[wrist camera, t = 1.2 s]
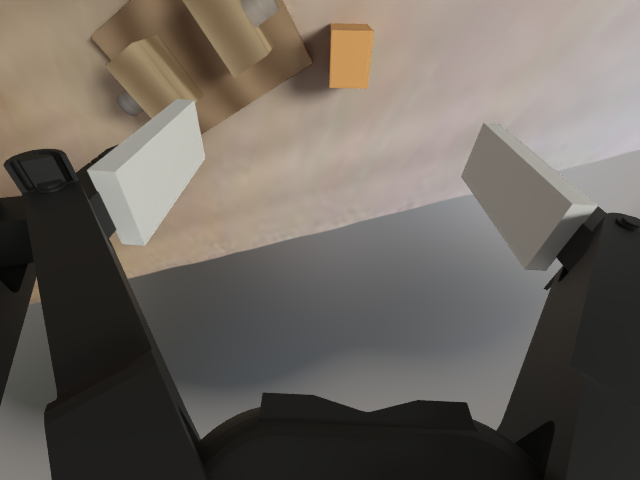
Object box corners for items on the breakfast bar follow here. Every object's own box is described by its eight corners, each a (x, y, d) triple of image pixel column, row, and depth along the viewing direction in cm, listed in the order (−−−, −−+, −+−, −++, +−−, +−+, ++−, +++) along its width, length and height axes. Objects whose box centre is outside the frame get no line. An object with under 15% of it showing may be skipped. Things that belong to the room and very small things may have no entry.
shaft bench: (235, -93, 28) (213, -111, 22) (312, 61, 35) (310, 75, 30) (97, 35, 34) (53, 45, 29) (188, 141, 42) (167, 165, 36)
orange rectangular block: (330, 23, 33) (331, 30, 29) (367, 24, 33) (373, 30, 29) (329, 74, 36) (329, 87, 32) (362, 75, 36) (367, 88, 32)
